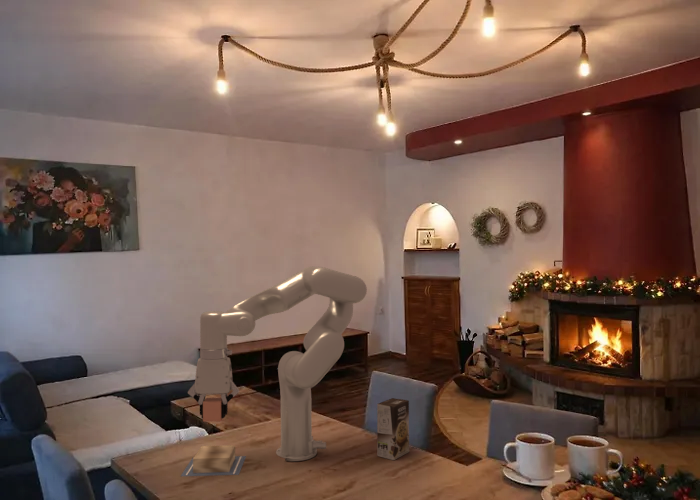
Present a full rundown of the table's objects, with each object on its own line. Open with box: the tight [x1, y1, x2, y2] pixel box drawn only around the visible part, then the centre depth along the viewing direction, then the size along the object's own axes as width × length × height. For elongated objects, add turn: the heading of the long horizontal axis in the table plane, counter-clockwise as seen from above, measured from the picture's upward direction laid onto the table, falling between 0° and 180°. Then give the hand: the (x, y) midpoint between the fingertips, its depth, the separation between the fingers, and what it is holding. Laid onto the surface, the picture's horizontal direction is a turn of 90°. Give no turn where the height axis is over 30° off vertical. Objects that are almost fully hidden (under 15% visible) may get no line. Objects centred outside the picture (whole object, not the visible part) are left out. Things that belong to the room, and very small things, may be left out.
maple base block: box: [192, 444, 236, 473], centre depth 158 cm, size 10×10×4 cm
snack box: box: [376, 397, 410, 461], centre depth 168 cm, size 9×6×16 cm
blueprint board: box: [180, 455, 247, 477], centre depth 158 cm, size 16×14×1 cm
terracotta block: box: [202, 397, 224, 423], centre depth 158 cm, size 5×5×6 cm
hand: (213, 416), depth 158 cm, fingers closed on terracotta block, 4 cm apart
